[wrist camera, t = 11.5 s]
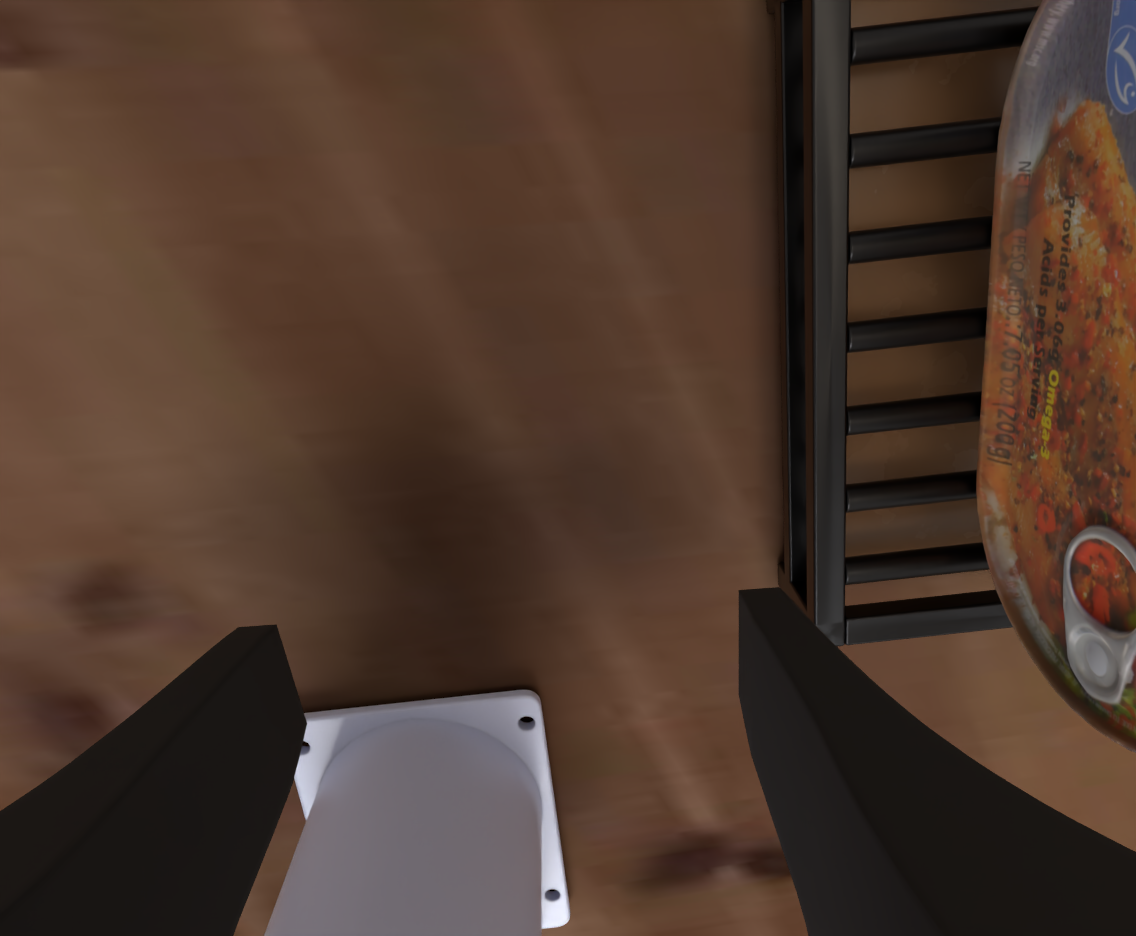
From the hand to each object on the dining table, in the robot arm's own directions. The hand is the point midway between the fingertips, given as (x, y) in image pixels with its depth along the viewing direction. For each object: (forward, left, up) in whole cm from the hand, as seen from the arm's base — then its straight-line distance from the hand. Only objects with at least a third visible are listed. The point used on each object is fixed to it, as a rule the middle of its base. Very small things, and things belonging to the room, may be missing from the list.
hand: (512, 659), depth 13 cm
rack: (+3, -12, -11) cm, 16 cm away
